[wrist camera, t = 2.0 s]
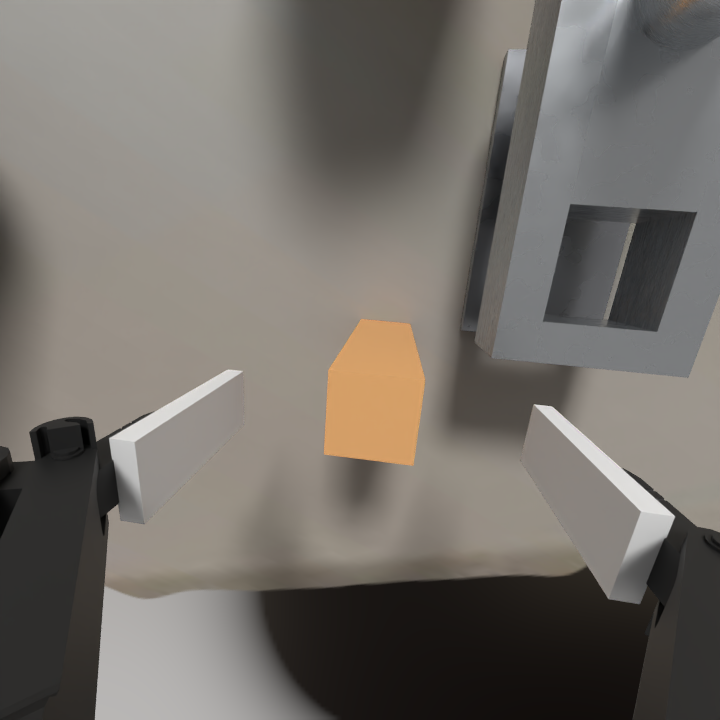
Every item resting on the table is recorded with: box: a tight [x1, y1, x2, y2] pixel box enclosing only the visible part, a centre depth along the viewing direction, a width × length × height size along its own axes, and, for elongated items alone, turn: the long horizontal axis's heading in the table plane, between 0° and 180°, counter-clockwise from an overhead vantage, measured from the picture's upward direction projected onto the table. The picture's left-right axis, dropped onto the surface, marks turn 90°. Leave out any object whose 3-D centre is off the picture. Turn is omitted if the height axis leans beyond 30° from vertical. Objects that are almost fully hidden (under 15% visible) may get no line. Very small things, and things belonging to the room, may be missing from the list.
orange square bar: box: [324, 319, 425, 466], centre depth 21 cm, size 4×4×14 cm
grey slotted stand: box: [460, 0, 720, 378], centre depth 16 cm, size 10×18×16 cm, turn 175°
